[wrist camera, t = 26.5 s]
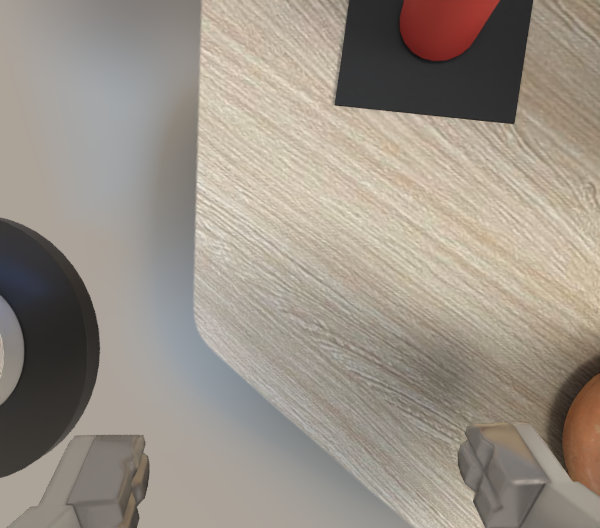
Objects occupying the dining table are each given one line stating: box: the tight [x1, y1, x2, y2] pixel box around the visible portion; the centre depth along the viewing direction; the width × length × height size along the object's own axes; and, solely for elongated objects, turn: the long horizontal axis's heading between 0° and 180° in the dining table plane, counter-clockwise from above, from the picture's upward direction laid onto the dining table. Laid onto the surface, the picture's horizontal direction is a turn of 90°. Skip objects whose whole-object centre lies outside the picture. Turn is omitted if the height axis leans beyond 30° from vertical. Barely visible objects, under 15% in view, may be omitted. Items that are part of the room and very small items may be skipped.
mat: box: [335, 0, 533, 124], centre depth 34 cm, size 15×15×1 cm
